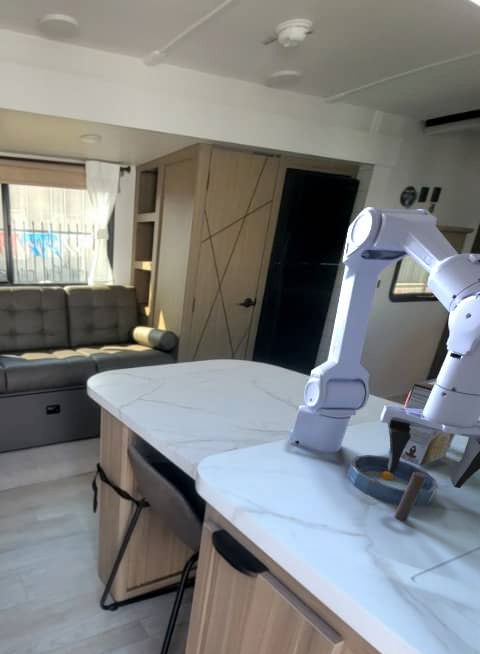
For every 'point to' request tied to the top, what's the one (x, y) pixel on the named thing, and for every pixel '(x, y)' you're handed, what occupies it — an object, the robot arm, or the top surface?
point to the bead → (386, 475)
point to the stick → (410, 496)
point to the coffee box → (424, 430)
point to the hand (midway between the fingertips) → (422, 476)
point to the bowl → (382, 490)
